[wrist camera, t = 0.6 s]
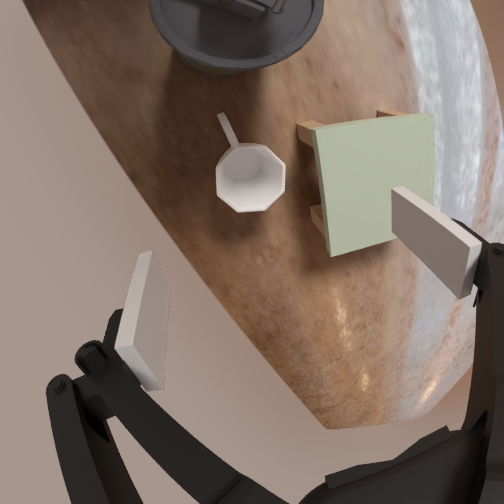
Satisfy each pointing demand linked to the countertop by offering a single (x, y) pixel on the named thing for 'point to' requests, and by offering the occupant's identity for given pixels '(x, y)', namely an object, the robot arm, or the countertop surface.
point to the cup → (248, 174)
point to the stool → (368, 174)
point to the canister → (235, 31)
